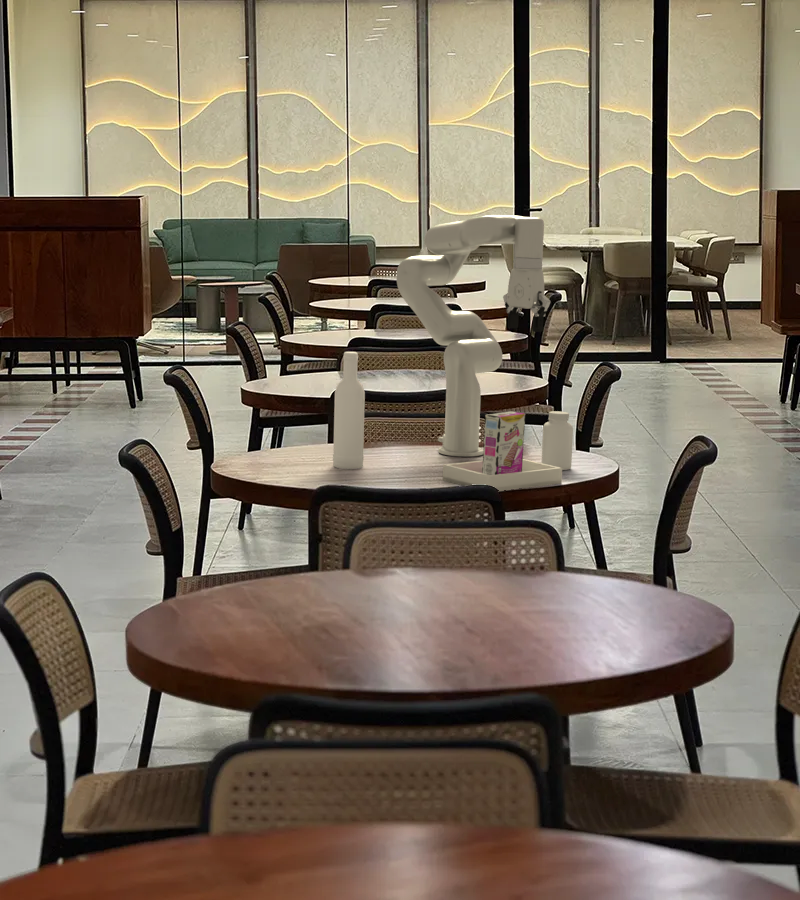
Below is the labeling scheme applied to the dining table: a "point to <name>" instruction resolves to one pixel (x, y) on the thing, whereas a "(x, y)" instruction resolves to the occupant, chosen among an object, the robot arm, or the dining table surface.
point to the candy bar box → (503, 443)
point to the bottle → (349, 417)
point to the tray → (503, 475)
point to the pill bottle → (557, 440)
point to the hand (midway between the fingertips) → (525, 329)
